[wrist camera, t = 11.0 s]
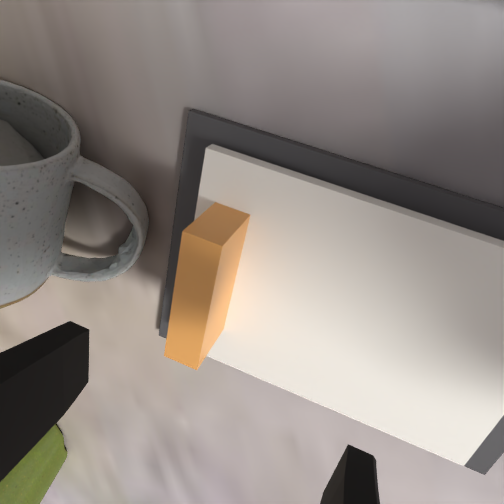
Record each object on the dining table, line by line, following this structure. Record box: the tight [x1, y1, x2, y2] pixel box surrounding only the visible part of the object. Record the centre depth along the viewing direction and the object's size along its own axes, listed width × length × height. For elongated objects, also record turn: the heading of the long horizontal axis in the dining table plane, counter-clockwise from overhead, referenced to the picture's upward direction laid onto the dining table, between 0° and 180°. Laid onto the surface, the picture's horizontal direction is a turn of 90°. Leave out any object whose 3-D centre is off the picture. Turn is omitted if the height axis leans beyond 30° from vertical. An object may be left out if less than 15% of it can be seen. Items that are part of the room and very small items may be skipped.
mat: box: [159, 109, 504, 475], centre depth 19 cm, size 17×12×1 cm
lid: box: [164, 144, 504, 466], centre depth 17 cm, size 14×10×4 cm
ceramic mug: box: [0, 80, 149, 309], centre depth 19 cm, size 11×8×8 cm
